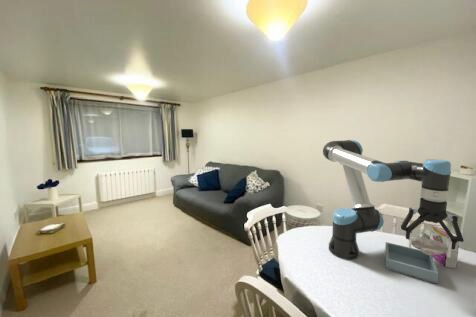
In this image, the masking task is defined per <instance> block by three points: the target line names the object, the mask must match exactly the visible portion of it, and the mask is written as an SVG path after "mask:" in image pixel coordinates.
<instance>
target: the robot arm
mask: <svg viewBox="0 0 476 317" xmlns="http://www.w3.org/2000/svg"><path fill="white" fill-rule="evenodd" d="M322 148H323V149H322V154H323V156H324V158H325V159H327V160H328V161H330V162H334V163H335V162H336V163H339V164H340V165H342V169H343V171H344V172H343V173H344V175H345V179H346V183H347V186H348V190H349V195H350V199H351V202H352V205H351V208H343V207H342V208H338V209H336V210H334V212H333V214H332V235H331V238H330V240H329V243H328V251H329V252H330V253H332V255H334V256H335V257H337V258H340V259H344V260H356V259H357V258H359V257H360V248H359V246H358V243H357V234H360V233H361V234H363V233H369V232H370V233H371V232H375V231H378V230H380V229H382V227H383V225H384V216H383V214H382V212H380V210H378V209H376V208H375V205H374V204H373V203H371V202H370V198H369V194H368V189H367V187H366V184H365V181H364V177H363V174H366V175H367V178H369V179H370V181H372V182H376V183H378V182H380V183H383V182H384V183H385V182H390V181H401V180H411V181H417V182H421V188H420V199H419V207H418V208H413V207H409V208H408V213H407V214H406V217H405V218H404V219H403V221H402V223H401V225H400V228H401V229H400V230H402V231H405V239H406V240H408V242H407V243H408V244H407V245H408V246H407V247H409V248H412V246H413V245H412V238H413V231H414V229H416V228H417V227H419V226H420V225H421V224H422V223H424V222H426V223H427V222H429V223H434V224H437V223H439V226H442V227H443V229H444V230H445V232H446V233H447V234H448V236H449V237H450V239H448V238H447V247H448V248H447V250H446V255H447V257H449V258H450V255H451V249H455V246H456V243H457V242H458V241H459V243H464V242H465V241H464V238H463V235H462V231H461V229H460V226H459V223H458V221H459V220H458V219H459V217H458V216H457V215H456V213H451V214H449V213H447V207H448V202H447V201H448V196H449V187H450V181H451V179H450V178H451V174H452V171H451V170H452V169H451V167H452V164H451V162H450V161H448V160H445V159H444V160H443V159H425V160H424V161H423V163H421V162H414V161H408V160H396V161H395V162H383V161H381V160H378V159H376V158H375V159H374V158H372V157H368V156H366V155H365V156H364V155H363V152H364V151H363V146H362V144H361V143H360V142H359V141H356V140H352V139H345V140H332V141H331V140H330V141H328V142H327V143H326V144H325V145H324V146H323V147H322ZM362 173H363V174H362ZM417 213H418V214H419V216H418V217H417V218H416V219H415V220H414V221H413V222H412V223H411V224H409V223H410V222H411V220H412V218H413V217H414V215H416V214H417ZM447 218H448V220H449V221H450V222H451V225H452V227H453V230H454V232H455V233H454V234H456V236H457V237H454V236H453V235H452V233H453V232H452V231H451V230H450V229H449V228H448V226H447V225H446V224H445V222H444V220H445V219H447ZM450 231H451V232H452V233H451V232H450Z"/></svg>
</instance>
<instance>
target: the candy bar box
mask: <svg viewBox="0 0 476 317" xmlns="http://www.w3.org/2000/svg"><path fill="white" fill-rule="evenodd" d="M449 231H450V232H451V233H452V235H453V236H454V237H457V236H456V233H454V232H452V231H451V230H449ZM447 238H448V239H450V237H449V236H448V234H447V233H446V232H445V230H444V229H443V227H442V226H441V225H435V224H434V225H430V237H429V239H432V240H436V241H439V242H441V243H443V244H445V245H446V246H447ZM459 246H460V241H458V242H457V243H456V246H455V249H451V255H450V258H449V257H447V255H446V253H443V254H439V255H436V254H432V258H433V260H435V261H437V262H438V263H439V264H440V265H442V266H443V267H444V268H448V269H449V268H450V269H457V266H458V265H457V264H458V258H459V257H458V256H459Z"/></svg>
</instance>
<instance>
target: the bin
mask: <svg viewBox="0 0 476 317" xmlns="http://www.w3.org/2000/svg"><path fill="white" fill-rule="evenodd" d="M384 246H385V249H384V253H385V254H384V255H385V256H384V257H385V258H384V259H385V269H386V270H387V271H391V272H395V273H398V274H400V275H401V274H402V275H405V276H409V277H411V278H415V279H419V280H421V281H425V282H429V283H433V284H435V285H438V284H439V283H438V282H439V274H440V273H439V271H438V269H437V266H436V264H435V261H434V258H433V257H432V255H426V254H424V253H423V252H421V250H419V249H417V248H414V247H413V248H412V247H411V248H409V246H404V245H401V244H396V243H392V242H385V245H384Z"/></svg>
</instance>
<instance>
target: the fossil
mask: <svg viewBox="0 0 476 317" xmlns="http://www.w3.org/2000/svg"><path fill="white" fill-rule="evenodd" d="M411 246H412V247H413V248H414V249H417V250H421V252H423V253H424V254H426V255H432V254H436V255H439V254H443V253H446V250H447V248H448V247H447V246H446V245H445V244H443V243H441V242H439V241H436V240H432V239H430V238H426V237H423V236H416V237H412V245H411Z"/></svg>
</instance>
